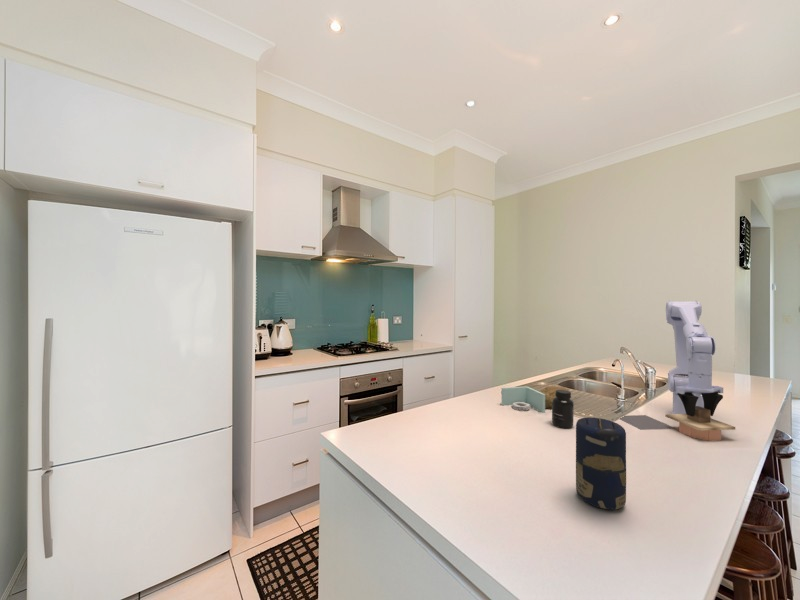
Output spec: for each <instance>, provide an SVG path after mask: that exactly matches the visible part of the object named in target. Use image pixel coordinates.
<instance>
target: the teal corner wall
mask: <svg viewBox="0 0 800 600" xmlns="http://www.w3.org/2000/svg"><path fill="white" fill-rule="evenodd" d="M501 406H511V407H512V410H516V411H521V412H526V411H529V410H530V409H531V408H533V409H534V410H537V411H539V412H540V413H543V414H545V413H546V408H545V394H543V393H541V391H538V390H536V389H534V388H532V387H530V386H513V387H501Z"/></svg>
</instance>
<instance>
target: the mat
mask: <svg viewBox="0 0 800 600" xmlns="http://www.w3.org/2000/svg"><path fill="white" fill-rule="evenodd" d="M623 416H624V417H622V418H620V419H619V420H621V421H622V422H624V423H626V424H629V425H631V426H632V427H634V428H637V429H638V430H640V431H641V430H644V431H645V430H646V431H647V430H648V431H651V430H677V428H676V427H674V426H672V425H669V424H667V423H664V422H662V421H660V420H658V419H656V418H653V417H651V416H649V415H647V414H644V415H642V414H641V415H640V414H639V415H637V414H636V415H623Z"/></svg>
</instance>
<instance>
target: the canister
mask: <svg viewBox="0 0 800 600" xmlns="http://www.w3.org/2000/svg"><path fill="white" fill-rule="evenodd" d="M575 489H576V492H577V495H578V496H579V497H580V498H581V499H582V500H583V501H584V502H586V503H587V504H589V505H592V506H595V508H596V507H597V508H601V509H604V510H618V509H621V508H623V507H624V506H625V505H626V502H627V432H626V429H625V428H624V427H623V425H621V424H619V423H617V422H615V421H612V420H610V419H605V418H602V417H601V418H600V417H591V416H589V417H582V418H579V419H578V420H577V421H576V424H575Z"/></svg>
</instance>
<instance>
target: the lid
mask: <svg viewBox="0 0 800 600" xmlns="http://www.w3.org/2000/svg"><path fill="white" fill-rule="evenodd" d="M665 417H666V418H667V419H670V420H673V421H675V422H677V423H679V422H680V423H682V424H685V425H687V426H690V427H692V428H694V429H697V430H699V431H701V430H721V431H731V430H732V431H735V430H736V426H734V425H731V424H728V423H726V422H722V421H720V420H716V419H714V418H712V416H711V410H709V409H706V408H703V407H700V406H695V415H694V416H689V415H687V414H665Z"/></svg>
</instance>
